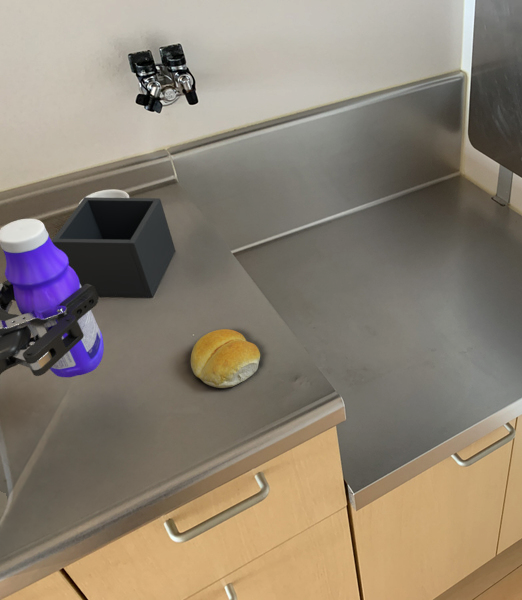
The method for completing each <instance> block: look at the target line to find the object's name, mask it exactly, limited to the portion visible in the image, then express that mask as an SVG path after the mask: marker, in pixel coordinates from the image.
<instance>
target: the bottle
mask: <svg viewBox="0 0 522 600" xmlns="http://www.w3.org/2000/svg"><path fill="white" fill-rule="evenodd" d="M0 248H1V250H2V251H3V254H4V256H5V262H6V263H5V270H4V276H5V279H6V281H7V280H8V281H9V282H10V283H11V284H13V288H14V296H15V300H16V301H15V303H16V307H17V309H18V311H19V313H20V315H23V314H26V313H29V312H31V311H37V312H39V313H41V312H44V311H47V310H50V309H52V308H55V307H58V306H60V303H62V302H63V301H64V300H65V299H67V298H68V297H69V296H71V295H72V294H73V293H74V292H76V291H77V290H78V289H80V288H81V285H80V282H79V279H78V276H77V275H76V273H75V271H74V270H73V269H72V268H71V267H70V266H69V261H68V257H67V256H66V254H65V253H64V252H63V251H61V250H59V249H58V248H57V247H56V246H55V245H54V244H53V243H52V239H51V237H50V235H49V232H48V231H47V229H46V226H45V224H44V223H43V222H42V221H41V220H39V219H36V218H22V219H17V220H14V221H11V222H9V223H7V224H5V225H3V226H2V227H1V228H0ZM57 323H58V321H57V319H55V320H53V321H50V322H47V323H45V324H44V326H45V327H50V326H53V325H56V324H57ZM78 323H79V326H80V328H81V330H82V332H83V334H84V337H83V338H82V339H81V340H80V341H79V342H78V343H77V344H76V345H75V346H74V347H73V348H72V349H70V350H69V351H68V352H67V353H66V354H65V355H64V356H63V357H62V358H61V359H60V360H59V361H58V362H56V363H55V364H54V365H53V366H52V367H51V368H50V369H49V370H50V371H51V372H52V373H53V374H54V375H55V376H57V377H59V378H73V377H77V376H83V375H86V374H89V373H91V372H93V371H95V370H96V369H97V368H98V367H99V366H100V364H101V362H102V359H103V356H104V350H105V349H104V347H105V346H104V344H105V343H104V337H103V334H102V331H101V329H100V327H99V325H98V323H97V321H96V317H95V316H94V314H93V312H92V309H91V310H90V311H88V312H87V313H86V314H85V315H84V316H82V317H81V318H80V319H79V320H78ZM28 327H29V329H30V331H31V336H32V337H34V336H36V335H37V334H38V332H37V330H36V328H35V327H34V326H33V325H28ZM67 335H68V334H67V333H65V334H64V335H63V336H62V340H63V339H64V338H65V337H66V336H67Z"/></svg>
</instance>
